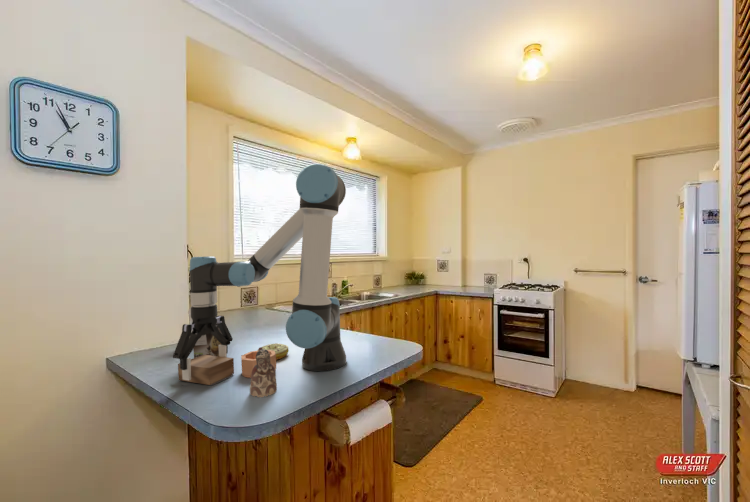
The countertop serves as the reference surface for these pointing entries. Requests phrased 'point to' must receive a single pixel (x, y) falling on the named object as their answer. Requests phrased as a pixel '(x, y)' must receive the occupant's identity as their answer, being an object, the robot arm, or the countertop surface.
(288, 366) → the countertop surface
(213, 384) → the mat
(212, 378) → the brown wooden block
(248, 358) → the bowl
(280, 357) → the decorated donut
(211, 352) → the coffee box
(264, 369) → the figurine
